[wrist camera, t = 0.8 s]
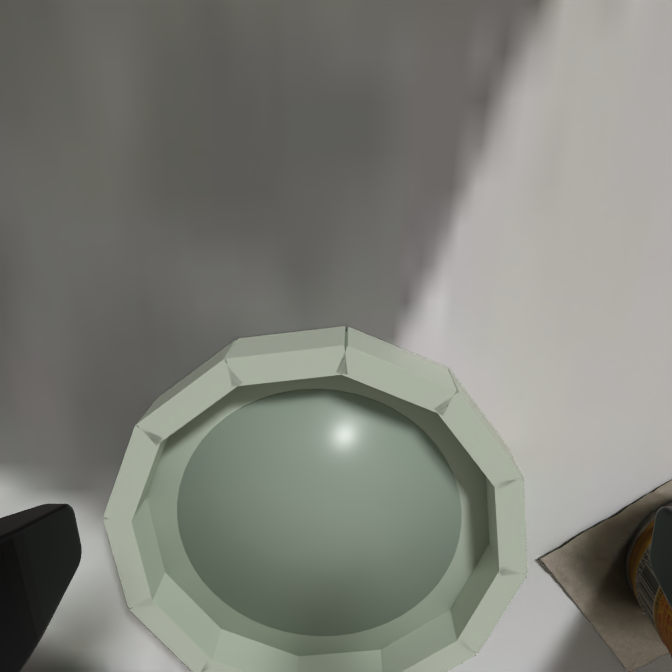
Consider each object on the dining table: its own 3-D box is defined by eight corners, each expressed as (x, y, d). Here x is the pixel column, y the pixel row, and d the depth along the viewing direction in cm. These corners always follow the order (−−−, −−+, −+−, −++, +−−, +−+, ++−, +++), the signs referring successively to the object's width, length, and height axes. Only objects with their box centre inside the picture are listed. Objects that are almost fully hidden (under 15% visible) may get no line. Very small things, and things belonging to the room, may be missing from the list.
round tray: (174, 673, 26) (159, 718, 24) (91, 355, 22) (63, 377, 20) (517, 646, 25) (532, 691, 23) (500, 308, 21) (517, 325, 19)
